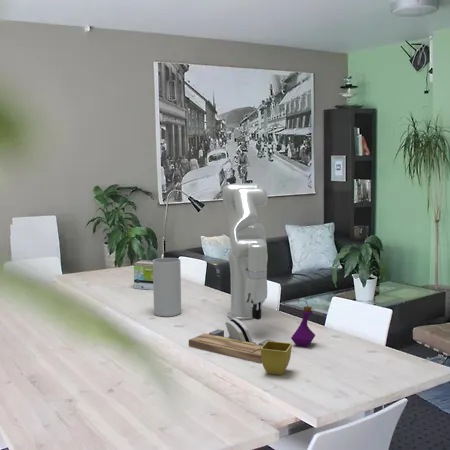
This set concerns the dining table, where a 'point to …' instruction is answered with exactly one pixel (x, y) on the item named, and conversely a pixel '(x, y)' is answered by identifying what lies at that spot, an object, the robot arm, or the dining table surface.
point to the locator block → (217, 333)
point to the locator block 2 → (264, 342)
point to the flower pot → (275, 356)
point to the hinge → (238, 330)
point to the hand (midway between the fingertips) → (256, 318)
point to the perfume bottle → (304, 329)
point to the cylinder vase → (167, 286)
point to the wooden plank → (228, 347)
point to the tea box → (143, 275)
